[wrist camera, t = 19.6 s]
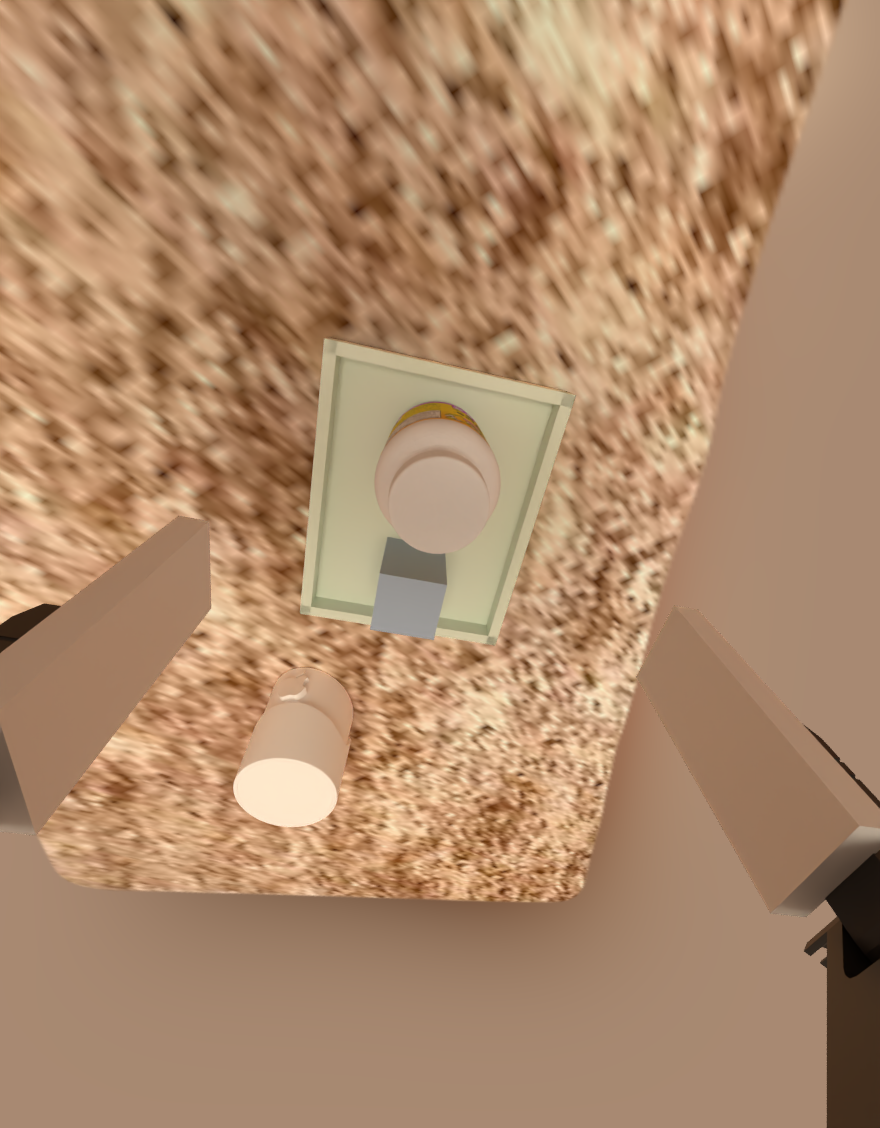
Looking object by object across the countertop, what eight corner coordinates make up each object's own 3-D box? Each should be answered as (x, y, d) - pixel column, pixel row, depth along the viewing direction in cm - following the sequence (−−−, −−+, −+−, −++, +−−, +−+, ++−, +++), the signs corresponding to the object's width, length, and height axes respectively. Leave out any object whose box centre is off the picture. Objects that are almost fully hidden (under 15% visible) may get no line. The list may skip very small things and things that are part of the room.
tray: (331, 337, 30) (324, 338, 28) (566, 391, 31) (575, 395, 30) (306, 599, 39) (299, 613, 37) (492, 630, 40) (495, 645, 38)
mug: (212, 757, 34) (319, 744, 33) (256, 672, 42) (341, 661, 42) (265, 856, 39) (357, 846, 39) (294, 763, 47) (371, 754, 47)
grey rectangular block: (378, 586, 37) (370, 629, 32) (387, 536, 35) (379, 573, 30) (433, 596, 38) (433, 639, 33) (444, 547, 36) (447, 585, 31)
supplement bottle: (495, 475, 33) (529, 548, 22) (410, 507, 34) (400, 592, 23) (464, 383, 31) (485, 409, 19) (373, 420, 32) (339, 467, 20)
